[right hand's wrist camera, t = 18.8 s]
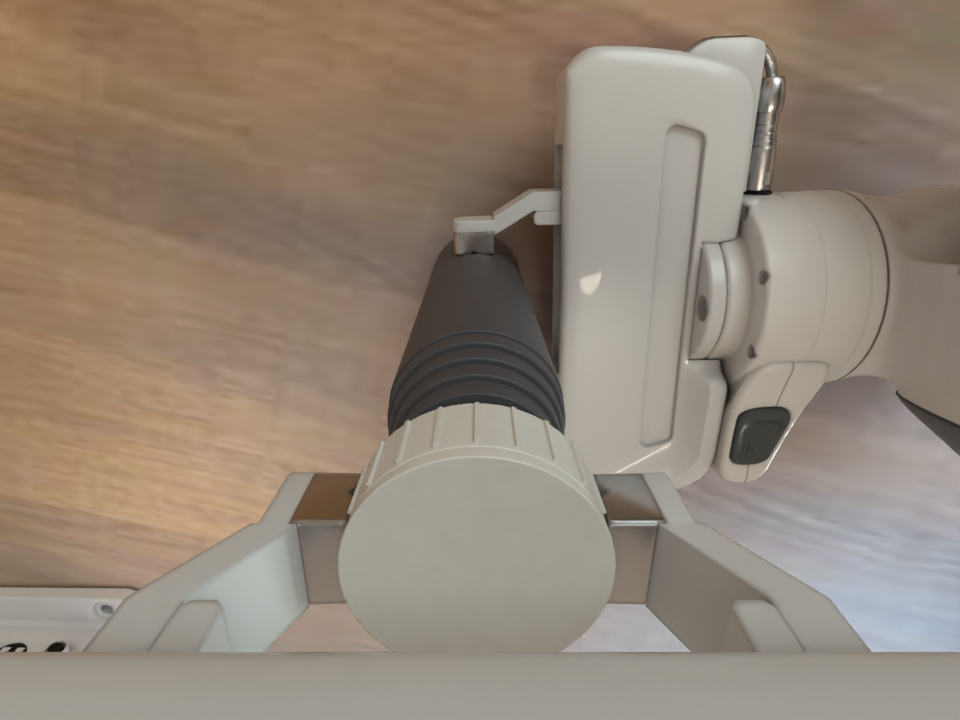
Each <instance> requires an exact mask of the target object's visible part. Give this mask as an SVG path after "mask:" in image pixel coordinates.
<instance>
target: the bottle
mask: <svg viewBox="0 0 960 720" xmlns="http://www.w3.org/2000/svg"><path fill="white" fill-rule="evenodd" d="M475 402H479V403H485V404H494V405H502V406H506V407H510V408H511V407H516V409H518V410H521V411H523V412H526V413H529V414H532V415H534V416H535V417H537V418H539V419H541V420H543V421H544V420H547V421H549V424H550V425H551V426H552V427H554V428H555V429H557V430H558V431H559V432H560V433H562V434H563V435H564V431H565V422H566V414H565V407H564V399H563V392H562V389H561V385H560V382H559V379H558V376H557V374H556V371H555V368H554V365H553V363H552V360H551V357H550V354H549V351H548V349H547V346H546V343H545V340H544V338H543V335H542V332H541V329H540V327H539V324H538V321H537V318H536V315H535V313H534V310H533V307H532V304H531V302H530V299H529V296H528V293H527V290H526V288H525V285H524V282H523V279H522V277H521V274H520V271H519V268H518V265H517V263H516V260H515V258H514V256H513V254H512V252H511V251H510V250H509V248H508V247H507V246H506V245H505V244H504V243H503V242H501V241H500V240H498V239H496V238H494V254H478V253H476V252H475V251H473V252H472V253H471V254H468V255H457V254H455V250H454V240H453V241H451V242H450V243H449V244H448V245H446V247H445V248H444V249H443V250H442V252H441V253H440V255H439V257H438V259H437V261H436V264H435V267H434V270H433V273H432V275H431V278H430V281H429V284H428V287H427V289H426V292H425V295H424V298H423V301H422V304H421V306H420V309H419V312H418V315H417V318H416V321H415V323H414V326H413V329H412V332H411V335H410V337H409V340H408V343H407V346H406V349H405V352H404V354H403V357H402V360H401V363H400V366H399V369H398V371H397V374H396V377H395V380H394V383H393V386H392V389H391V393H390V399H389V409H388V430H389V436H390V435H391V434H393V433H394V432H395V431H396V430H397V429H399V428H400V427H402V426H403V425H404V424H405V422H406V421H407V420H409V421H411V420H413V419H415V418H417V417H419V416H420V415H423V414H425V413H428V412H431V411H433V410H436V409H438V407H443V408H444V407H448V406H452V405H460V404H472V403H475Z"/></svg>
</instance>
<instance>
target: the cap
mask: <svg viewBox="0 0 960 720" xmlns="http://www.w3.org/2000/svg"><path fill="white" fill-rule="evenodd" d="M347 513H348V514H350V516H349V519H348V522H347V525H346V528H345V530H344V533H343V536H342V539H341V543H340V548H339V553H338V573H339V581H340V585H341V588H342V592H343V595H344V598H345V600H346V602H347V604H348V606H349V608H350V610H351V611H352V613H353V614H354V616H355V617H356V619H357V620H358V622H359V623H360V624H361V625H362V626H363V627H364V628H365V630H366V631H367V632H368V633H369V634H370V635H372V636H373V637H374V638H375V639H376V640H377V641H379V642H380V643H381V644H383V645H384V646H386V647H387V648H389V649H390V650H392V651H393V652H560V651H562V650H564V649H565V648H566V647H568V646H569V645H571V644H572V643H574V642H575V641H576V640H577V639H578V638H580V637H581V636H582V635H583V634H584V633H585V632H586V631H587V630H588V629H589V628H590V627H591V626H592V624H593V623H594V622H595V621H596V620H597V618H598V617H599V615H600V614H601V612H602V611H603V609H604V607H605V605H606V603H607V601H608V599H609V596H610V594H611V590H612V587H613V583H614V578H615V569H616V560H615V550H614V545H613V541H612V537H611V534H610V531H609V528H608V525H607V522H606V519H605V517H604V514H605V513H607V512H606V509H605V506H604V504H603V501H602V498H601V495H600V492H599V490H598V487H597V484H596V481H595V478H594V476H593V473H592V470H591V468H590V466H588V467H587V466H586V464H585V462H584V460H583V459H582V457H581V455H580V454H579V452H578V451H577V449H576V446H575V443H574V442H573V441H572V440H571V441H569V440H568V439H567V438H566V437H565V436H564V435H563V434H562V433H560V432H559V431H558V430H557V429H555V428H554V427H552V426H551V425H550V424H549V421H547V420H544V421H543V420H541V419H539V418H537V417H535V416H534V415H532V414H529V413H526V412H523V411H521V410H518V409H516V407H511V408H510V407H506V406H502V405H494V404H485V403H479V402H475V403H472V404H460V405H452V406H448V407H444V408H443V407H438V409H436V410H433V411H431V412H428V413H425V414H423V415H420V416H419V417H417V418H415V419H413V420H411V421H409V420H407V421H406V422H405V424H404V425H403V426H402V427H400V428H399V429H397V430H396V431H395V432H394V433H393V434H391V435H390V436H389V437H388V438H387V439H386V440H385V441H381V442H380V443H379V446H378V449H377V451H376V452H375V454H374V456H373V457H372V459H371V461H370V462H369V464H368V467H365V466H364V468H363V470H362V473H361V476H360V478H359V481H358V484H357V487H356V489H355V492H354V495H353V497H352V500H351V503H350V506H349V508H348V511H347Z"/></svg>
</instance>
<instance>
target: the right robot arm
mask: <svg viewBox="0 0 960 720" xmlns="http://www.w3.org/2000/svg"><path fill="white" fill-rule="evenodd" d="M360 476H361V473H315V472H301V473H291V474H289V475H288V476H287V477H286V479H285V480H284V482H283V484H282V485H281V487H280V489H279V490H278V492H277V494H276V495H275V497H274V499H273V500H272V502H271V504H270V505H269V507H268V508H267V510H266V512H265V513H264V515H263V517H262V518H261V520H260V522H259V523H258V524H249V525H248V526H246V527H244V528H243V529H241V530H239V531H237V532H236V533H234V534H232V535H231V536H229V537H227V538H226V539H224V540H222V541H220V542H219V543H217V544H215V545H214V546H212V547H210V548H209V549H207V550H205V551H203V552H202V553H200V554H198V555H197V556H195V557H193V558H192V559H190V560H188V561H187V562H185V563H183V564H181V565H180V566H178V567H176V568H175V569H173V570H171V571H170V572H168V573H166V574H164V575H163V576H161V577H159V578H158V579H156V580H154V581H153V582H151V583H149V584H147V585H146V586H144V587H142V588H141V589H139V590H137V591H135V590H132V589H127V588H40V587H0V720H960V652H871V651H870V649H869V648H868V647H867V645H866V644H865V643H864V642H863V640H862V639H861V638H860V637H859V635H858V634H857V633H856V631H855V630H854V629H853V628H852V626H851V625H850V624H849V623H848V621H847V620H846V619H845V617H844V616H843V615H842V614H841V612H840V611H839V610H838V609H837V607H836V606H835V605H834V603H833V602H832V601H831V600H830V598H828V597H826V596H825V595H823V594H821V593H820V592H818V591H816V590H815V589H813V588H811V587H810V586H808V585H806V584H805V583H803V582H801V581H800V580H798V579H796V578H795V577H793V576H791V575H790V574H788V573H786V572H785V571H783V570H781V569H780V568H778V567H776V566H774V565H773V564H771V563H769V562H768V561H766V560H764V559H763V558H761V557H759V556H758V555H756V554H754V553H753V552H751V551H749V550H748V549H746V548H744V547H743V546H741V545H739V544H738V543H736V542H734V541H733V540H731V539H729V538H728V537H726V536H724V535H723V534H721V533H719V532H717V531H716V530H714V529H712V528H711V527H709V526H707V525H706V524H697V523H696V522H695V520H694V518H693V517H692V515H691V513H690V511H689V510H688V508H687V506H686V505H685V503H684V501H683V500H682V498H681V496H680V495H679V493H678V491H677V490H676V488H675V486H674V485H673V483H672V481H671V480H670V478H669V476H668V475H667V474H666V473H664V472H652V473H632V474H593V476H594V478H595V481H596V484H597V487H598V490H599V492H600V495H601V498H602V501H603V504H604V506H605V509H606V512H607V513H605V514H604V517H605V519H606V522H607V525H608V528H609V531H610V534H611V537H612V541H613V545H614V550H615V560H616V569H615V578H614V583H613V587H612V590H611V594H610V596H609V599H608V601H607V603H617V604H646V607H647V608H648V609H649V610H650V611H651V612H652V613H653V614H654V615H655V616H656V617H657V618H658V619H659V620H660V621H661V622H662V623H663V624H664V625H665V626H666V627H667V628H668V629H669V630H670V631H671V632H672V633H673V634H674V635H675V636H676V637H677V638H678V639H679V640H680V641H681V642H682V643H683V644H684V645H685V646H686V647H687V648H688V649H689V650H690V651H691V652H264V651H265V650H266V649H267V648H268V647H269V646H270V645H271V644H272V643H273V642H274V641H275V640H276V639H277V638H278V637H279V636H280V635H281V634H282V633H283V632H284V631H285V630H286V629H287V628H288V627H289V626H290V625H291V624H292V623H293V622H294V621H295V620H296V619H297V618H298V617H300V616H301V615H302V614H303V613H304V612H305V611H306V610H307V609H308V608H309V604H337V603H347V602H346V600H345V598H344V595H343V592H342V588H341V585H340V581H339V573H338V553H339V548H340V543H341V539H342V536H343V533H344V530H345V528H346V525H347V522H348V519H349V516H350V514H348V513H347V511H348V508H349V506H350V503H351V500H352V497H353V495H354V492H355V489H356V487H357V484H358V481H359V478H360Z"/></svg>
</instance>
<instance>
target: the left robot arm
mask: <svg viewBox="0 0 960 720" xmlns="http://www.w3.org/2000/svg"><path fill="white" fill-rule="evenodd" d="M764 66H765V69H766V77H764V78H762V74H763V67H764ZM785 93H786V82H785V77H784V76H778V69H777V64H776V60H775V57H774V55H773V53H772V51H771V50H770V49H769V47H768V46H767V45H766V44H765V43H764V42H763V41H762V40H760V39H757V38H755V37H751V36H746V35H741V36H718V37H708V38H704V39H702V40H699V41H697V42H696V43H694V44H692V45H691V46H689V47H688V48H687V49H686V50H685V51H676V50H668V49H659V48H649V47H633V46H595V47H590V48H587V49H585V50H583V51H581V52H580V53H578V54H577V55H576V56H575V57H574V58H573V59H572V60H571V61H570V62H569V63H568V64H567V65H566V66H565V67H564V69H563V70H562V71H561V73H560V74H559V75H558V77H557V80H556V85H555V143H554V188H539V189H528V190H527V191H525V192H524V193H522V194H520V195H519V196H517V197H516V198H514V199H513V200H511V201H510V202H508V203H507V204H505V205H504V206H502V207H501V208H499V209H498V210H496V211H495V212H493V215H490V216H466V217H457V218H454V219H453V237H454V250H455V254H457V255H468V254H471V253H472V252H473V251H475V252H476V253H478V254H494V235H496V234H498V233H499V232H501V231H503V230H504V229H506V228H507V227H509V226H511V225H512V224H514V223H515V222H517V221H519V220H520V219H522V218H523V217H525V216H527V215H528V214H530V218H531V219H532V221H533V222H534V223H535V224H536V225H553V301H552V358H551V360H552V363H553V365H554V368H555V371H556V374H557V376H558V379H559V382H560V385H561V389H562V392H563V399H564V407H565V414H566V422H565V431H564V436H565V437H566V438H567V439H568V440H569V441H571V440H572V441H573V442H574V443H575V446H576V449H577V451H578V452H579V454H580V455H581V457H582V459H583V460H584V462H585V464H586V466H587V467H588V466H590V468H591V470H592V473H593V474H632V473H652V472H664V473H666V474H667V475H668V476H669V478H670V480H671V481H672V483H673V485H674V486H675V488H676V489H678V488H681V487H684V486H687V485H689V484H691V483H693V482H695V481H697V480H698V479H700V478H701V477H702V476H703V475H704V474H705V473H706V472H707V471H708V469H709V468H710V466H711V467H712V468H713V469H714V470H715V471H716V472H717V473H718V474H719V475H720V476H721V477H722V478H723V479H724V480H726V481H730V482H749V481H754V480H756V479H758V478H760V477H761V476H762V475H763V474H764V473H765V471H766V470H767V469H768V467H769V465H770V464H771V462H772V460H773V458H774V457H775V455H776V453H777V451H778V450H779V448H780V446H781V444H782V443H783V441H784V439H785V438H786V436H787V434H788V433H789V431H790V429H791V428H792V426H793V425H794V423H795V422H796V420H797V419H798V417H799V416H800V414H801V413H802V411H803V410H804V409H805V407H806V406H807V404H808V403H809V402H810V401H811V399H812V398H813V397H814V396H815V394H816V393H817V392H818V391H819V389H820V388H821V387H822V385H823V383H828V382H833V381H837V380H840V379H844V378H848V377H853V376H876V377H880V378H883V379H887V380H890V381H892V382H893V383H894V384H895V385H896V386H897V388H898V390H897V391H896V395H897V396H898V397H899V399H900V400H901V401H902V402H903V404H904V405H905V406H906V407H907V408H908V409H909V410H910V411H911V412H912V413H913V414H914V415H915V416H916V417H917V418H918V419H919V420H920V421H921V422H923V423H924V424H925V425H926V426H927V427H928V428H929V429H931V430H932V431H933V432H934V433H935V434H936V435H937V436H938V437H939V438H941V439H942V440H943V441H944V442H945V443H946V444H947V445H949V446H950V447H951V448H952V449H953V450H954V451H955V452H956V453H957V454H958V455H960V185H934V186H923V187H918V188H913V189H909V190H906V191H903V192H900V193H897V194H894V195H891V196H886V197H875V196H870V195H866V194H863V193H860V192H855V191H849V190H813V191H789V192H772V191H770V190H771V184H772V177H773V170H774V164H775V158H776V148H777V147H776V145H777V140H776V138H777V133H776V131H777V128H778V125H777V124H778V121H779V116H780V112H782V110H783V106H784V101H785Z"/></svg>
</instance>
